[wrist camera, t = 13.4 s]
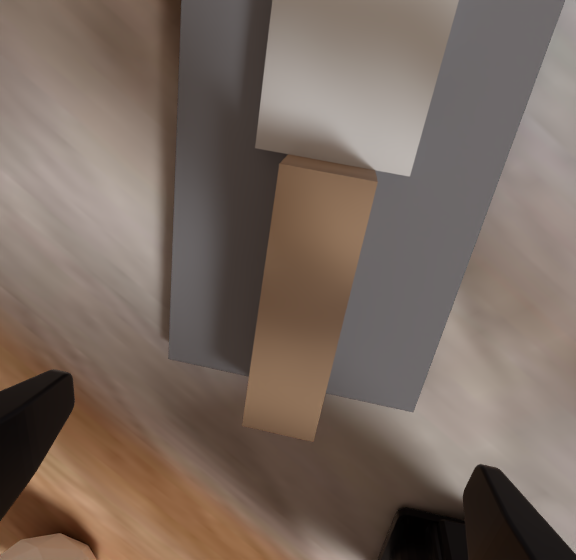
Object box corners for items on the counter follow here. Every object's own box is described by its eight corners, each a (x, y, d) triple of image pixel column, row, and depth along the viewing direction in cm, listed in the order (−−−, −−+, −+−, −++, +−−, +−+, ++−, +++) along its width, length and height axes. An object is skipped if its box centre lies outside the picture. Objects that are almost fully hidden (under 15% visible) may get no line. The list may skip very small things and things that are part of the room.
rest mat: (410, 397, 19) (413, 412, 18) (176, 346, 20) (168, 359, 19) (674, -343, 10) (707, -386, 9) (211, -389, 10) (197, -433, 10)
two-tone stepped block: (343, 399, 19) (341, 448, 16) (233, 375, 19) (214, 419, 16) (478, -94, 11) (513, -145, 9) (293, -121, 12) (276, -177, 9)
